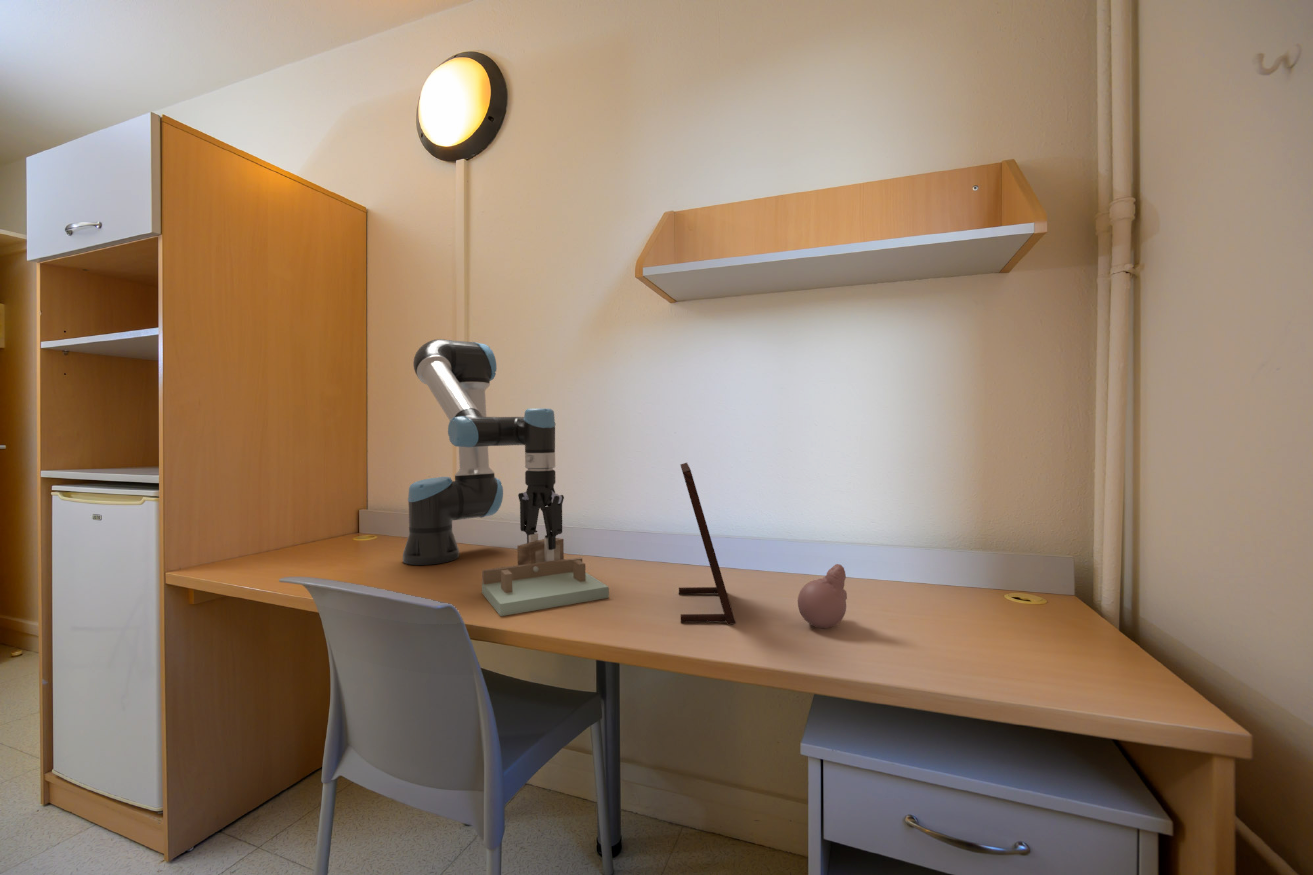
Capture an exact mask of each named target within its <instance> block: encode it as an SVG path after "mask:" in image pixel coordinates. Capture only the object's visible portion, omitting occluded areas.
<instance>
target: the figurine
mask: <svg viewBox="0 0 1313 875" xmlns="http://www.w3.org/2000/svg"><path fill="white" fill-rule="evenodd" d="M842 565H843V564H839V563H836V564H834V565H833V566H832V567H831V568H830V569H828V571H827V572H826V575H825V576H823V578H818V579H813V580H811V581H809V582H807V583H806V584H805V585H803V587H801V589H800V591H799V594H798V596H797V607H798V610H799V613H800V615H801V617H802V619H803V620H804V621H806V622H807V623H809V625H811V626H813V627H816V628H819V629H829V628H833V627H835V626H836V625H838V624H839V623H840V622H841V621H842V620H843V619H844V616H845V615H846V612H847V598H848V595H847V594H848V593H847V590H845V589H844V588H845V581H846V579H847V576H846V571H845V567H844V566H842Z"/></svg>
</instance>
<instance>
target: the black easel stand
mask: <svg viewBox="0 0 1313 875" xmlns="http://www.w3.org/2000/svg"><path fill="white" fill-rule="evenodd" d="M679 465H680V468H681V472H682V476H683V478H684V482H685V484H686V485H685V486H686V489H687V491H688V496H689V500H690V502H691V506H692V509H693V512H694V513H693V514H694V516H695V520H696V522H697V526H698V530H699V534H700V536H701V540H702V544H703V546H704V549H705V553H706V557H707V559H708V563H709V568H710V571H711V573H712V577H713V581H714V584H715V586H714V587H713V586H711V587H710V586H707V587H706V586H705V587H704V586H702V587H700V586H699V587H696V586H695V587H690V586H689V587H688V586H687V587H685V586H684V587H678V595H701V594H702V595H703V594H704V595H705V594H707V595H709V594H710V595H716V594H717V595H718V599H719V601H720V605H721V608H722V611H723V613H695V614H694V613H686V614H684V613H681V614H680V623H704V622H705V623H707V622H708V623H714V622H715V623H716V622H717V623H718V622H721V623H722V622H723V623H724V622H725V623H726V625H727V626H730V625H732V624H736V620H735V617H734V614H733V610H732V607H731V603H730V600H729V599H730V598H729V596H728V592H727V590H726V586H725V582H724V579H723V576H722V572H721V568H720V565H719V563H718V562H719V561H718V558H717V556H716V550H715V549H714V545H713V542H712V538H711V535H710V532H709V531H710V530H709V528H708V524H707V521H706V518H705V515H704V510H703V508H702V504H701V500H700V496H699V494H698V490H697V486H696V484H695V480H694V476H693V474H692V473H693V472H692V470H691V468H690V465H689V464H688V462H684V463H681V464H679Z"/></svg>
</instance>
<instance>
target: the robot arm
mask: <svg viewBox="0 0 1313 875" xmlns="http://www.w3.org/2000/svg"><path fill="white" fill-rule="evenodd" d="M497 366H498V365H497V360H496V356H495V353H494V351H493V350H492V349H491V347H490V346H488V345H487V344H486V343H479V342H476V341H464V340H452V339H451V340H450V339H442V338H437V339H433V340H429V341H427V342H425V343H424V344H422V345H421V346H420V347H419V348H418V349H417V351H416V353H415V354H414V356H413V371H414V373H415V375H416V376H417V379H419V381H420V382H421V383H423V384H425V385H426V386H427V387H428V389H429V390H430V392H431V394H432V396H434V398H435V400H436V402H437V403H438V404H439V406H440V408H441V409H442V411H443V412H444V414H445V415H446V417H447V419H448V420H449V422H448V425H447V426H448V427H447V435H448V437H449V439H448V440H449V442H450V443H451V444H452V445H453V446H454V447H458V460H459V463H458V464H459V469H458V470H457V472H456V473H455V474H454V480H452V478H451V477H450V476H440V477H439V476H438V477H430V478H425V479H421V480H417V481H413V482H412V483H411V484H410V485H409V487H408V497H407V502H408V536H407V541H406V544H405V546H404V550H403V552H402V563H403V564H406V565H411V566H428V565H431V566H432V565H438V564H439V565H440V564H444V563H445V564H446V563H448V562H453V561H455V560H457V559H459V557H460V549H459V546H458V543H457V541H456V538H455V536H454V533H453V521H459V520H466V519H475V518H477V519H478V518H485V517H489V516H490V517H491V516H493V515H495V514H496V513H498V511H499V509H500V508H501V506H502V503H503V499H504V487H503V485H502V482H501V480H500V478H497V477H496V476H495V471H493V470H492V469H491V468H490V460H489V447H498V446H499V447H501V446H502V447H503V446H505V447H506V446H509V447H510V446H524V459H525V460H524V464H525V466H524V467H525V468H526V469H527V470H525V472H524V484H525V485H526V486H527V488H526V491H524V492H519V493H518V495H517V496H518V500H519V519H520V520H519V521H520V523H519V525H520V527H519V528H520V532H524V533H525V535H526V543H530V542H534V541H538V540H539V533H538V530H537V525H538V520H539V513H540V511H541V512H542V517H543V522H544V527H545V532H546V535H544V537H543V539H544V556H545V562H547V561H554V549H555V548H556V538H557V536H558V535H562V534H563V502H564V499H565V496H564V495H563V494H558V493H556V490H555V486H554V485H555V484H556V470H555V468H556V420H555V411H554V410H553V409H551V408H527V409H525V410H524V416H487V404H486V403H487V402H486V390H487V389H488V388H489V387H490V385H491V384H490V383H491V382H490V381H493V380H494V379H495V377H496V372H497V370H498V369H497Z"/></svg>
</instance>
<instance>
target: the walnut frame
mask: <svg viewBox="0 0 1313 875" xmlns="http://www.w3.org/2000/svg"><path fill="white" fill-rule="evenodd" d="M564 544H565V542H564V538H559V537H556V548H555V549H554V561H555V560H563V559H565V558H564V557H565V555H564V550H565V549H564V547H565V545H564ZM516 550H517V565H524V564H532V563H539V562H545V556H544V538H542V539H538V541H534V542H530V543H527V542H526V543H523V544H519V545H517V549H516Z"/></svg>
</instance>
